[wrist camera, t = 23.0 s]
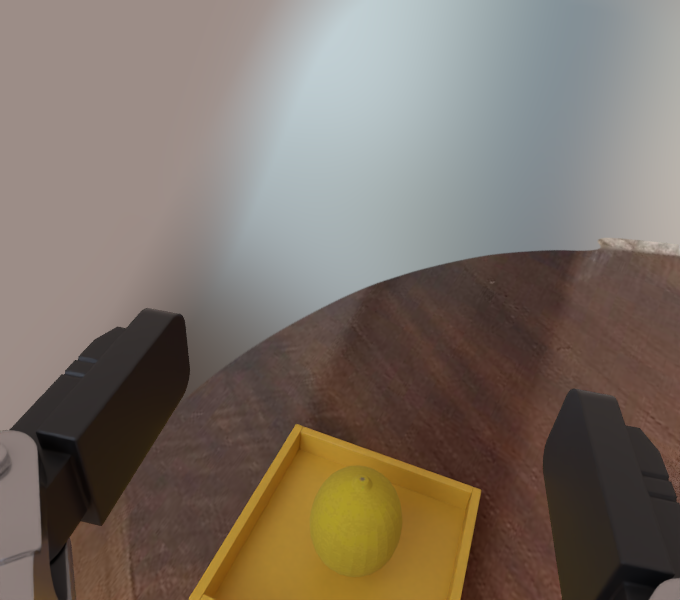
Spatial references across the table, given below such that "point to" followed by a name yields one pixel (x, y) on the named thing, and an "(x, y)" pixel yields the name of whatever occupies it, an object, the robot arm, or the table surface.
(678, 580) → the robot arm
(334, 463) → the yellow tray
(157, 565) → the table surface
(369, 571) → the lemon
